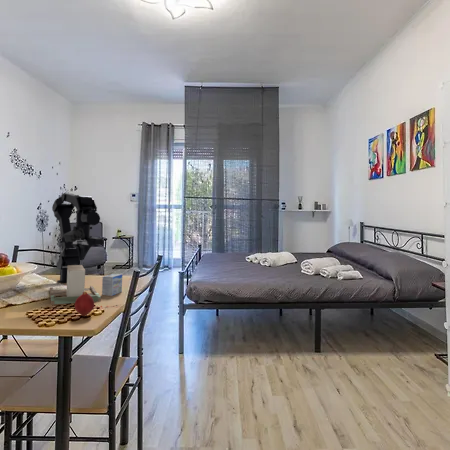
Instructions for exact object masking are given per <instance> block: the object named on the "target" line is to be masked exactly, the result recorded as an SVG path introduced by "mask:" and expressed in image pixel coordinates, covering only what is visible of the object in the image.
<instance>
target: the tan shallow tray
mask: <svg viewBox="0 0 450 450" xmlns="http://www.w3.org/2000/svg"><path fill="white" fill-rule="evenodd" d="M84 291H85V292H87V291H91V293H87V294H88V295H90V296H91V297H92V298H93V300H94V303H95V302H101V301H102V298H101V295H100V293H99V292H97V290H96V288H94V285H89V288H88V287H87V288H84ZM66 292H67V288H66V289H53V287H49V297H50V304H51V305H61V304H75V301H76V300H77V298H78V297H79V296H73V297H67V295H66Z"/></svg>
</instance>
